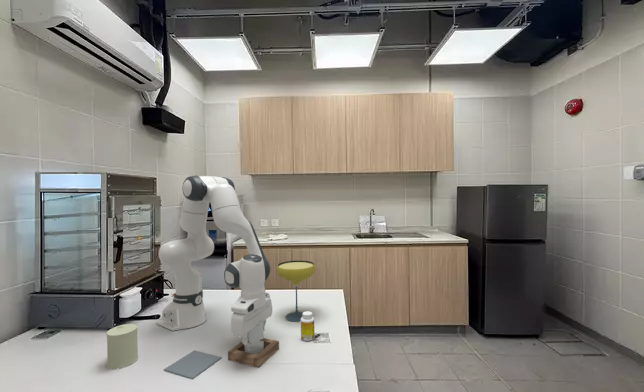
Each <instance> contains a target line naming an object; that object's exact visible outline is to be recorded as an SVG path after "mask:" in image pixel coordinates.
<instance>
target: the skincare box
mask: <svg viewBox="0 0 644 392" xmlns="http://www.w3.org/2000/svg"><path fill="white" fill-rule="evenodd" d="M264 332H265V331H264V324H263V321H262V320H261V321H259V322H258V323H257V325H256V327H254V328H253V329H251V330H250V331H249V332H247V335H246V336H247V338H249V343H248V344H247V345H245V352H247V353H252V354H256V355H257V354H259V353H260V352H261V351H262V350H263V349H264V338H265V337H264Z"/></svg>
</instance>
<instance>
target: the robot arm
mask: <svg viewBox="0 0 644 392" xmlns="http://www.w3.org/2000/svg"><path fill="white" fill-rule="evenodd" d="M181 187H182V190H181V191H182V194H183V196H184V199H183V202H182V207H181V212H180V218H179V226H180V228H181V229H182V230H183V231H184V232H187V237H185V238H182V239H181V238H180V239H174V240H170V241H168V242H165V243H163V244H161V246H160V247H159V249H158V258H159V260H160V262H161V263H162V264H163V265H164V266H167V267H168V268H169V269H170V271H171V272H172V274H173V277H174V285H175V286H174V287H175V288H174V289H175V293H172V294H171V297H172V298H173V299H172V301H171V302H169V304H167V305H166V306H165V307H164V308H163V310H162V312H161V317H160V318H158V319H157V320H156V321H155V324H156V325H158V326H161V327H163V328H165V329H167V330H170V331H173V332H174V331H178V330H179V331H180V330H183V329H184V330H185V329H186V330H187V329H189V328H190V329H191V328H194V327H197V326H200V325H202V324H203V323H205V322H206V320H207V317H206V315H207V313H206V312H205V304H204V299H203V298H204V292H203V289H202V288H203V287H202V284H203V283H202V274H201V272H200V271H199V270H197V269H194V268H193V266H192V262H195V261H199V260H203V259H205V258H207V257H209V256H211V255H212V254H213V253H214V251H215V244H214V241H213V240H212V238H211V237H210V236H209V235H208V233H207V220H208V214H209V208H211V213H212V218H213V221H214V222H213V223H214V224H215V226H216V227H217V228H218V229H219V230H221V231H222V232H224V233H228V234H232V235H235V236H237V237H239V238H240V239H242V240H243V242H244V244H245V246H246V249H247V252H248V254H245V255H243V256H242V257H241V259H239V260H237V261H233V262H231V263H229V264H227V266H226V267H225V269H224V272H223V278H224V282H225V284H226V285H228V287H230V288H232V289H237V288H240V296H239V297H238V298H237V300H236V301H235V302H234V303H233V304H232V305H231V307H230V311H231V312H233V313H232V314H231V318H230V319H231V320H230V321H231V322H230V323H231V324H230V325H231V327H230V329H231V334H232V336H235V337H238V338H239V337H240V338H241V340H242V341H243V344H244V345H247V344H248V343H249V338H247V336H246V335H247V332H249V331H250V330H251V329H253V328H254V327H256V325H257V323H258V322H259V321H261V320H262V321H263V324H264V332H265V328H266V324H267V319H269V318H271V316H272V315H273V303H272V299H271V295H270V293H268V292H266V288H265V281H267V279H268V278H269V276H270V274H271V270H272V269H271V264H270V262H269V260H268V259H267V257H266V255H265V253H264V250H263V247H262V246H261V242H260V240H259V238H258V235H257V232H256V230H255V227H254V226H253V224H252V222H251V221H249V220H248V219H247V218H246V217H245V215H244V214H243V211H242V209H241V206H240V201H239V197H238V195H237V191H236V188H235V187H236V186H235V183H234V182H233V180H232V179H230V178H228V177H224V176H222V177H220V176H215V175H190V176H187V177H186V178H185V180H184V181H183V183H182V186H181Z"/></svg>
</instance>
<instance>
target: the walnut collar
mask: <svg viewBox="0 0 644 392" xmlns="http://www.w3.org/2000/svg"><path fill="white" fill-rule="evenodd" d="M279 350H280V341H279V340H276V339H271V338H266V337H264V349H263V350H262V351H261V352H260V353H259V354H257V355H256V354H252V353H247V352H245V345H244V344H243V340H242V341H241V342H239V343H238V344H236V345H235V346H233V347H232V348H231V349H229V350H228V351H227V360H228V361H230V362H234V363H238V364H243V365H247V366H251V367H255V368H260V367H261V366H263V364H265V363H266V362H267V361H268V360H269V359H270V358H271V357H272V356H273V355H274V354H275V353H277V352H278V351H279Z"/></svg>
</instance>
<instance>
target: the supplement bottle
mask: <svg viewBox="0 0 644 392" xmlns="http://www.w3.org/2000/svg"><path fill="white" fill-rule="evenodd" d="M302 312H303V316H302V318H301V321H300V339H301V340H302V341H305V342H310V341H313V340H314V339H315V317H314V316H313V312H312V311H302Z"/></svg>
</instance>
